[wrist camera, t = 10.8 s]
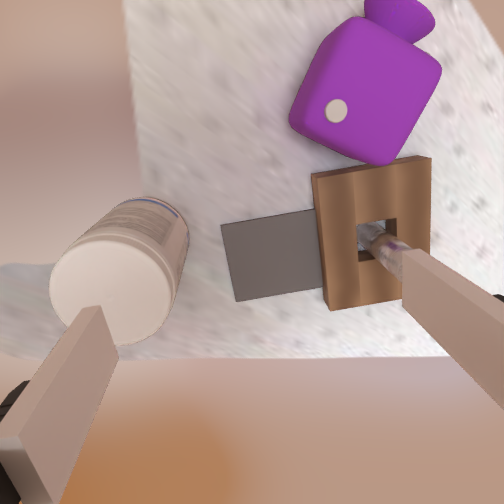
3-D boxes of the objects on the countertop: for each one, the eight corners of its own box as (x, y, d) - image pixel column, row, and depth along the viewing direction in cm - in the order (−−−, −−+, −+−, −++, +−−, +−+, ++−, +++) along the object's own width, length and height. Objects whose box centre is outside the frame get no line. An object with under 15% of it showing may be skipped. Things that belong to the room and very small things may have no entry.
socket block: (323, 299, 45) (330, 311, 42) (310, 174, 39) (317, 178, 37) (416, 283, 45) (429, 294, 42) (417, 155, 39) (431, 158, 37)
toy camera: (420, 25, 35) (489, -9, 26) (373, 163, 40) (417, 177, 30) (317, -7, 34) (350, -56, 24) (280, 140, 38) (296, 147, 29)
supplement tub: (88, 222, 40) (15, 276, 26) (158, 179, 39) (119, 212, 25) (140, 288, 43) (99, 367, 29) (206, 250, 42) (195, 314, 28)
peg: (355, 246, 43) (400, 291, 32) (353, 222, 42) (399, 260, 31) (379, 241, 43) (433, 285, 32) (378, 218, 42) (433, 254, 31)
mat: (236, 300, 44) (236, 302, 44) (220, 225, 41) (220, 226, 41) (330, 284, 44) (331, 285, 44) (322, 207, 41) (323, 208, 41)
